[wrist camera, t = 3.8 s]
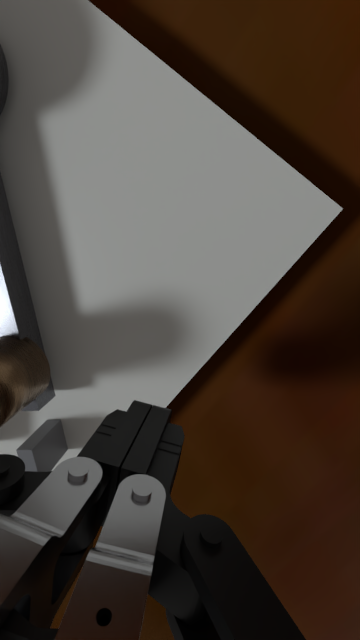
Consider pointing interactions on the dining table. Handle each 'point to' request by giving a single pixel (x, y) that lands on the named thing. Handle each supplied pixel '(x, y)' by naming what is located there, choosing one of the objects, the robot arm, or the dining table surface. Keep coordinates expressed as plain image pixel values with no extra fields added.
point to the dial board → (131, 219)
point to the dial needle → (18, 317)
